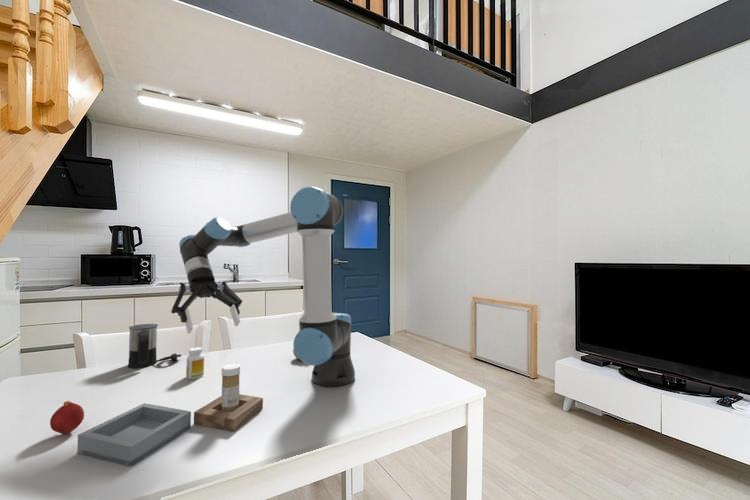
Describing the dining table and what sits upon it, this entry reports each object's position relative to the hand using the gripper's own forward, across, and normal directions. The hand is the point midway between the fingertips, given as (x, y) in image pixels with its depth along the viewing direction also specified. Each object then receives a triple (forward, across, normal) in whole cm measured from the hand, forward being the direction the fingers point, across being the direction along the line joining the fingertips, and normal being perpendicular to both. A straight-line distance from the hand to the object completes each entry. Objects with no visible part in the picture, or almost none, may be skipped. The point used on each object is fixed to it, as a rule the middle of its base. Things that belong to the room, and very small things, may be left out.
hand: (215, 327), depth 95 cm
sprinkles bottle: (+25, +1, -5) cm, 26 cm away
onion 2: (+7, -39, -23) cm, 46 cm away
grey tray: (+22, +20, -8) cm, 31 cm away
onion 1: (+12, +31, -19) cm, 38 cm away
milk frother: (-17, +5, -48) cm, 52 cm away
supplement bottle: (0, -2, -31) cm, 31 cm away
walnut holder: (+25, +1, -5) cm, 26 cm away
